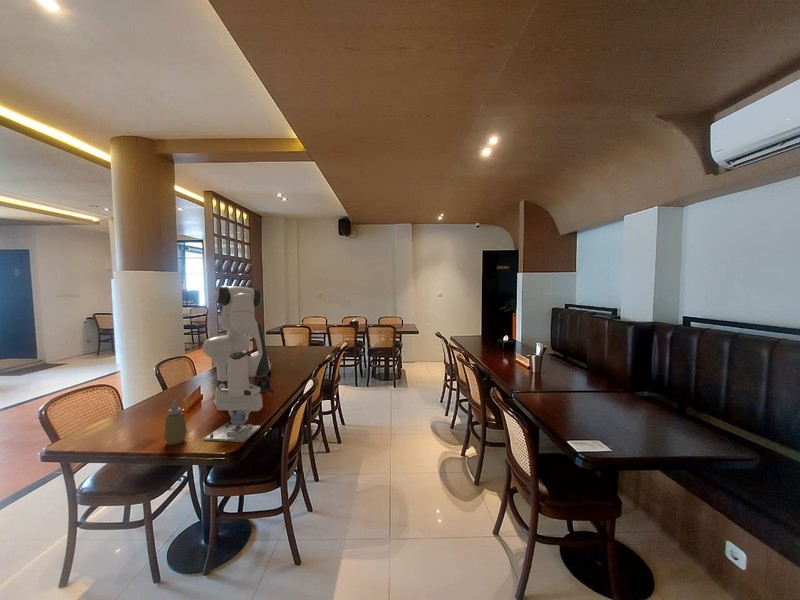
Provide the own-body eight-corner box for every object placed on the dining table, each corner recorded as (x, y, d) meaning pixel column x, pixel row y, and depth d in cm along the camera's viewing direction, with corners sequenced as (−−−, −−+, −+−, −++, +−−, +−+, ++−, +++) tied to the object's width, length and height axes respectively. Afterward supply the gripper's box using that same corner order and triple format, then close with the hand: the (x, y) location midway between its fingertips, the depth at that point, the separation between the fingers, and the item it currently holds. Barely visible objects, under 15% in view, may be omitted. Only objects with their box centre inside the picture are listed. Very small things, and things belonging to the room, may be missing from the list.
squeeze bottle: (171, 438, 145) (170, 397, 144) (191, 437, 145) (189, 397, 145) (159, 447, 137) (158, 404, 136) (180, 446, 137) (178, 403, 137)
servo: (240, 419, 152) (240, 409, 152) (248, 419, 152) (248, 410, 152) (230, 426, 145) (230, 416, 144) (239, 426, 144) (238, 416, 144)
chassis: (224, 426, 156) (223, 420, 156) (260, 427, 155) (260, 422, 155) (204, 440, 143) (203, 434, 142) (243, 441, 141) (243, 435, 141)
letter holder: (253, 394, 204) (252, 371, 203) (249, 386, 221) (249, 365, 220) (270, 391, 209) (270, 369, 208) (265, 383, 226) (265, 363, 225)
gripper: (212, 391, 145) (213, 421, 146) (256, 392, 144) (257, 423, 144) (221, 386, 152) (222, 416, 152) (263, 387, 150) (264, 417, 150)
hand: (239, 419), depth 148 cm, fingers closed on servo, 4 cm apart
